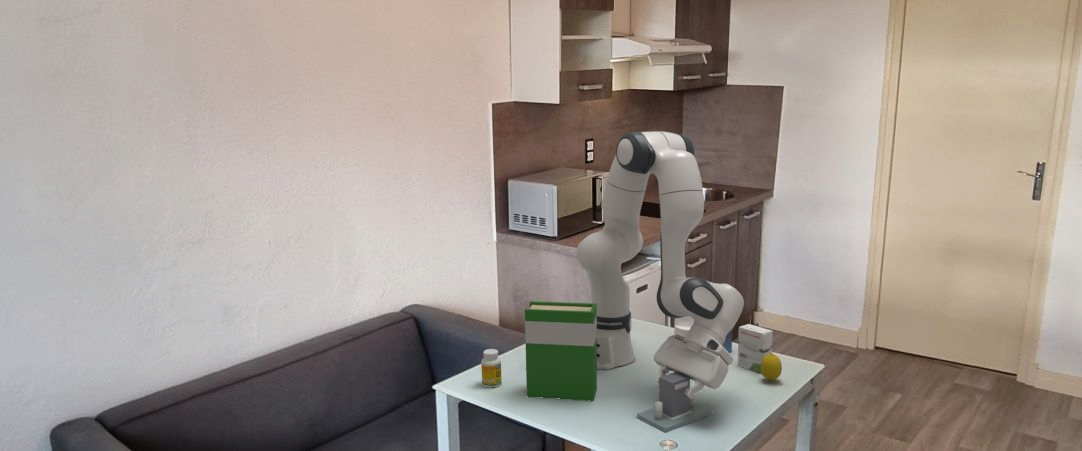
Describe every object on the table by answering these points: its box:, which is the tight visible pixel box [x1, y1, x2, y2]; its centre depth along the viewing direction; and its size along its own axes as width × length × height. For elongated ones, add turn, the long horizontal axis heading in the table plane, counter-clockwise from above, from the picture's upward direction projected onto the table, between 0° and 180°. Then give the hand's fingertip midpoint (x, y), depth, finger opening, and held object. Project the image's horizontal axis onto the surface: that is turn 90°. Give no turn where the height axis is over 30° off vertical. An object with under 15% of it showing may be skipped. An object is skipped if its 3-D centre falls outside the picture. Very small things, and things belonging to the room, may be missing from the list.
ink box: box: [737, 323, 774, 374], centre depth 225 cm, size 9×5×12 cm, turn 39°
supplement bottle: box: [480, 348, 503, 388], centre depth 217 cm, size 5×5×10 cm
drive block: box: [658, 372, 691, 418], centre depth 196 cm, size 6×5×9 cm
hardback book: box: [524, 300, 598, 402], centre depth 209 cm, size 18×7×24 cm, turn 80°
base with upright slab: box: [673, 316, 694, 337], centre depth 244 cm, size 9×9×12 cm
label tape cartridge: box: [722, 329, 733, 353], centre depth 235 cm, size 9×4×12 cm, turn 136°
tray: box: [636, 395, 713, 433], centre depth 196 cm, size 16×10×5 cm, turn 126°
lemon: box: [760, 352, 783, 382], centre depth 215 cm, size 6×6×8 cm
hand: (673, 390), depth 195 cm, fingers open, 8 cm apart
